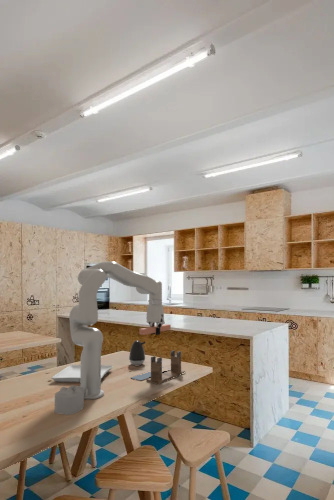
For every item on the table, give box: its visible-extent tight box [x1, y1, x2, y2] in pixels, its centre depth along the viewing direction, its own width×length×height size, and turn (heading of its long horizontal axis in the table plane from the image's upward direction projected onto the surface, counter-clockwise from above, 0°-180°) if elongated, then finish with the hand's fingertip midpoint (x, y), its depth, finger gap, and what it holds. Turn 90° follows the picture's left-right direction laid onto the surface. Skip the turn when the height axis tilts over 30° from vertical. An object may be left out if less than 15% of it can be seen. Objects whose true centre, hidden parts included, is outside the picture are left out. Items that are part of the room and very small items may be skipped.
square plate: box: [51, 364, 114, 383], centre depth 191 cm, size 27×27×4 cm
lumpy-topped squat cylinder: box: [54, 384, 85, 416], centre depth 145 cm, size 10×13×9 cm
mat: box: [130, 371, 151, 382], centre depth 195 cm, size 27×8×1 cm, turn 143°
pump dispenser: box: [128, 340, 146, 366], centre depth 217 cm, size 10×10×15 cm
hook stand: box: [146, 350, 186, 385], centre depth 189 cm, size 25×8×13 cm, turn 143°
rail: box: [138, 323, 172, 336], centre depth 195 cm, size 24×3×3 cm, turn 141°
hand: (155, 334), depth 195 cm, fingers closed on rail, 3 cm apart
